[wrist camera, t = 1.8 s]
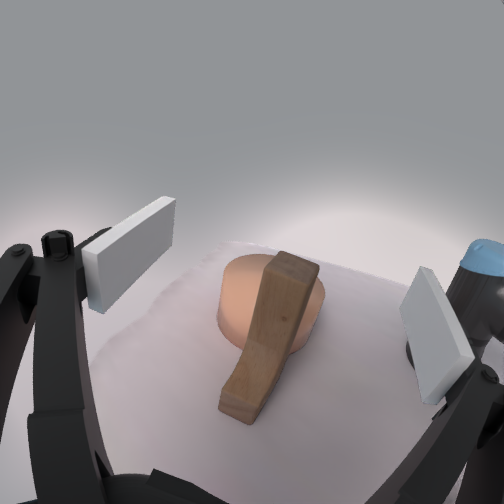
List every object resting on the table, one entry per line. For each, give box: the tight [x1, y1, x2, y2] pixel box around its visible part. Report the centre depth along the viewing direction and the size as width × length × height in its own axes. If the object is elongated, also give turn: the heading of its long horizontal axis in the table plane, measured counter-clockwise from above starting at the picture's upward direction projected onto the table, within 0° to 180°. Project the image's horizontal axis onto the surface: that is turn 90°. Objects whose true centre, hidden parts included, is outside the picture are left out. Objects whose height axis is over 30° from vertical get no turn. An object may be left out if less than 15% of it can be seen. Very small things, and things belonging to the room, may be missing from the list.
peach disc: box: [217, 254, 325, 354], centre depth 47 cm, size 15×15×8 cm
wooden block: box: [218, 251, 319, 425], centre depth 31 cm, size 9×4×18 cm, turn 155°
